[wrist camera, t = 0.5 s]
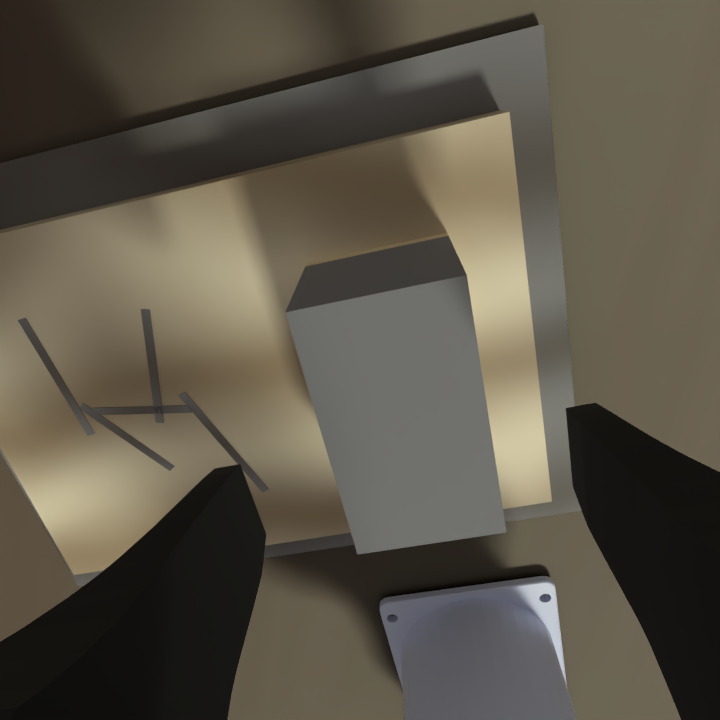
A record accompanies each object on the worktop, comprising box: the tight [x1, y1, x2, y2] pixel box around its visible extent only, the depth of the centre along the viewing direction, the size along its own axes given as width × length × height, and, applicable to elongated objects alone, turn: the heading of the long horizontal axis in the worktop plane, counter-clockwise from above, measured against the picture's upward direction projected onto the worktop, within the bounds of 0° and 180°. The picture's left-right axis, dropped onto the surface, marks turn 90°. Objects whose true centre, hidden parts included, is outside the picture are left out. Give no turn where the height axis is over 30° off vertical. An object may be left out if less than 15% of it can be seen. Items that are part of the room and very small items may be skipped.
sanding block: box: [285, 233, 506, 554], centre depth 18 cm, size 8×4×4 cm, turn 13°
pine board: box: [0, 24, 582, 586], centre depth 21 cm, size 18×23×2 cm
